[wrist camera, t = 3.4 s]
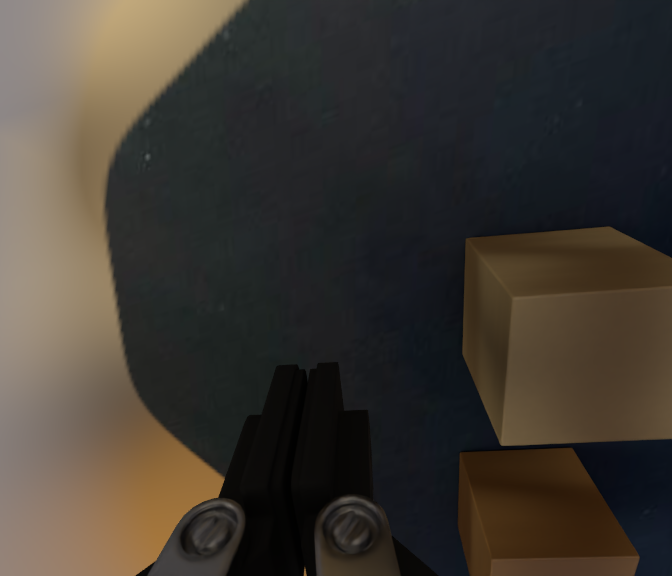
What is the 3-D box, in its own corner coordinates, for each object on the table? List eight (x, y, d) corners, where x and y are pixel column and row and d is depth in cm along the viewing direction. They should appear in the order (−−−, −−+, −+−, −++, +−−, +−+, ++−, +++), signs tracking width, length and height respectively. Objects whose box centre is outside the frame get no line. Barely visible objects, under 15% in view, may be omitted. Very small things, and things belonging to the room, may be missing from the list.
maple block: (462, 354, 17) (500, 447, 13) (465, 237, 15) (512, 297, 11) (589, 347, 17) (676, 439, 12) (610, 225, 15) (724, 283, 10)
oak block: (457, 525, 21) (485, 641, 17) (459, 451, 19) (491, 560, 15) (559, 522, 21) (615, 640, 16) (572, 446, 19) (640, 557, 14)
